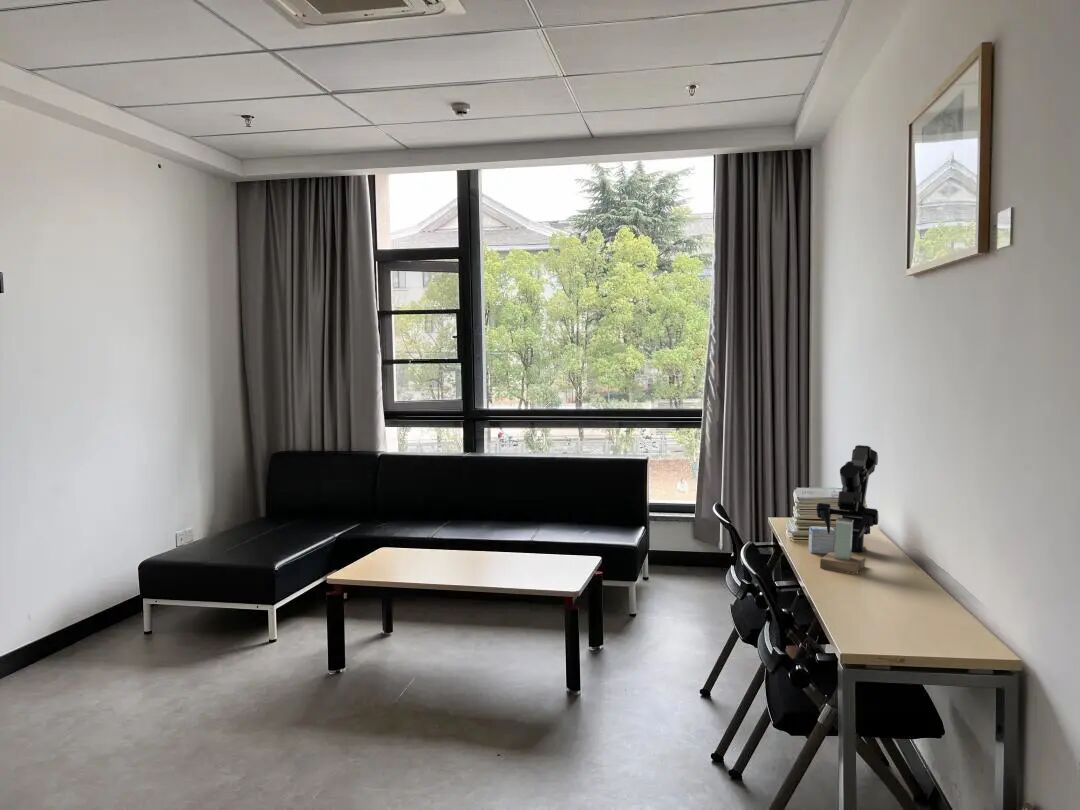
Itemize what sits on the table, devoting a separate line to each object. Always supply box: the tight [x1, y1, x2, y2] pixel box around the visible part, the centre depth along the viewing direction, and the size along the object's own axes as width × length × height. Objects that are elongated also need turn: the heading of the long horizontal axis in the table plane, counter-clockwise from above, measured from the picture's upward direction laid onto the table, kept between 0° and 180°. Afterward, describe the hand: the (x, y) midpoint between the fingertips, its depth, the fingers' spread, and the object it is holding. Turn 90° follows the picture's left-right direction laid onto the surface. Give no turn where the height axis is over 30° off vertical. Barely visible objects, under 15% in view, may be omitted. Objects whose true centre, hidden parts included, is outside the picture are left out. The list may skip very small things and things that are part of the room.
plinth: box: [819, 551, 866, 575], centre depth 251 cm, size 11×11×3 cm
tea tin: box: [834, 517, 854, 561], centre depth 250 cm, size 5×5×13 cm
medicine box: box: [807, 525, 836, 555], centre depth 269 cm, size 8×4×9 cm, turn 84°
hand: (843, 535), depth 249 cm, fingers open, 9 cm apart
